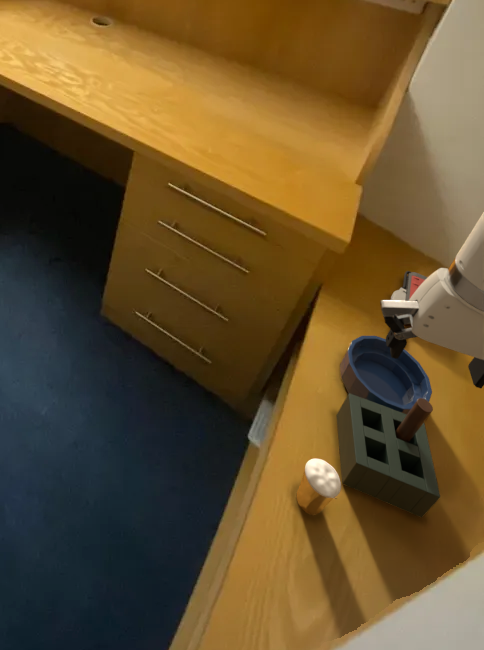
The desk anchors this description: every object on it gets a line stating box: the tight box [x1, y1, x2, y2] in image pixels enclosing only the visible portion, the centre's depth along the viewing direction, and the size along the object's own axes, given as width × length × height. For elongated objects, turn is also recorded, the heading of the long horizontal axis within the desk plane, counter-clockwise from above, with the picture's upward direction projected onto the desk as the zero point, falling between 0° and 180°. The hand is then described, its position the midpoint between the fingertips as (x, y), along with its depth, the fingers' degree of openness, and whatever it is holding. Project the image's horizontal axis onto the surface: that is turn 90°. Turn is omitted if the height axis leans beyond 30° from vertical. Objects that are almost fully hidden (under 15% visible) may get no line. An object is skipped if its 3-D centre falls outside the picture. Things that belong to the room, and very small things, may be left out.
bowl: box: [339, 335, 433, 414], centre depth 88 cm, size 12×12×6 cm
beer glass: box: [295, 458, 342, 516], centre depth 73 cm, size 5×5×10 cm
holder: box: [336, 393, 441, 518], centre depth 78 cm, size 10×10×7 cm
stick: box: [395, 398, 434, 443], centre depth 77 cm, size 2×2×15 cm
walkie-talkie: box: [390, 270, 429, 316], centre depth 100 cm, size 9×4×20 cm
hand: (432, 362), depth 71 cm, fingers open, 9 cm apart
